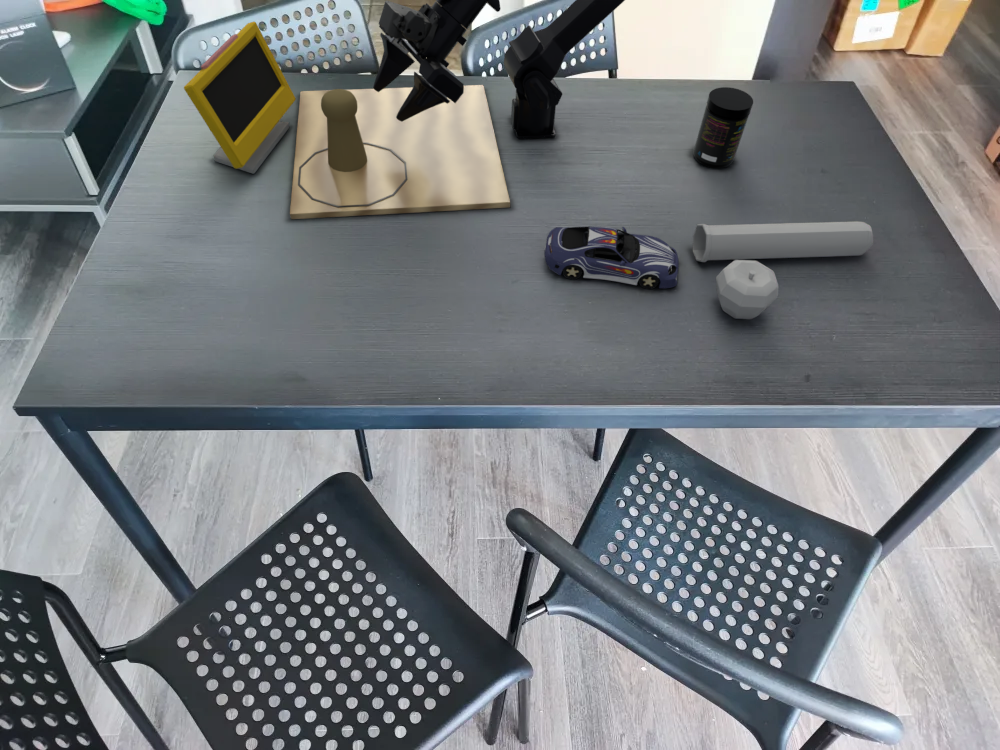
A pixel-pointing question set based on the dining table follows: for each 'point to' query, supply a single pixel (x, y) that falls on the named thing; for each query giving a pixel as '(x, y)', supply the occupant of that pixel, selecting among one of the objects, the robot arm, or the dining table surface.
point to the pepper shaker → (343, 131)
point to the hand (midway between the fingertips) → (386, 104)
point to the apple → (746, 288)
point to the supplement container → (722, 126)
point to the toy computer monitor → (242, 99)
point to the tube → (781, 240)
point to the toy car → (611, 256)
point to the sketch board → (400, 158)
